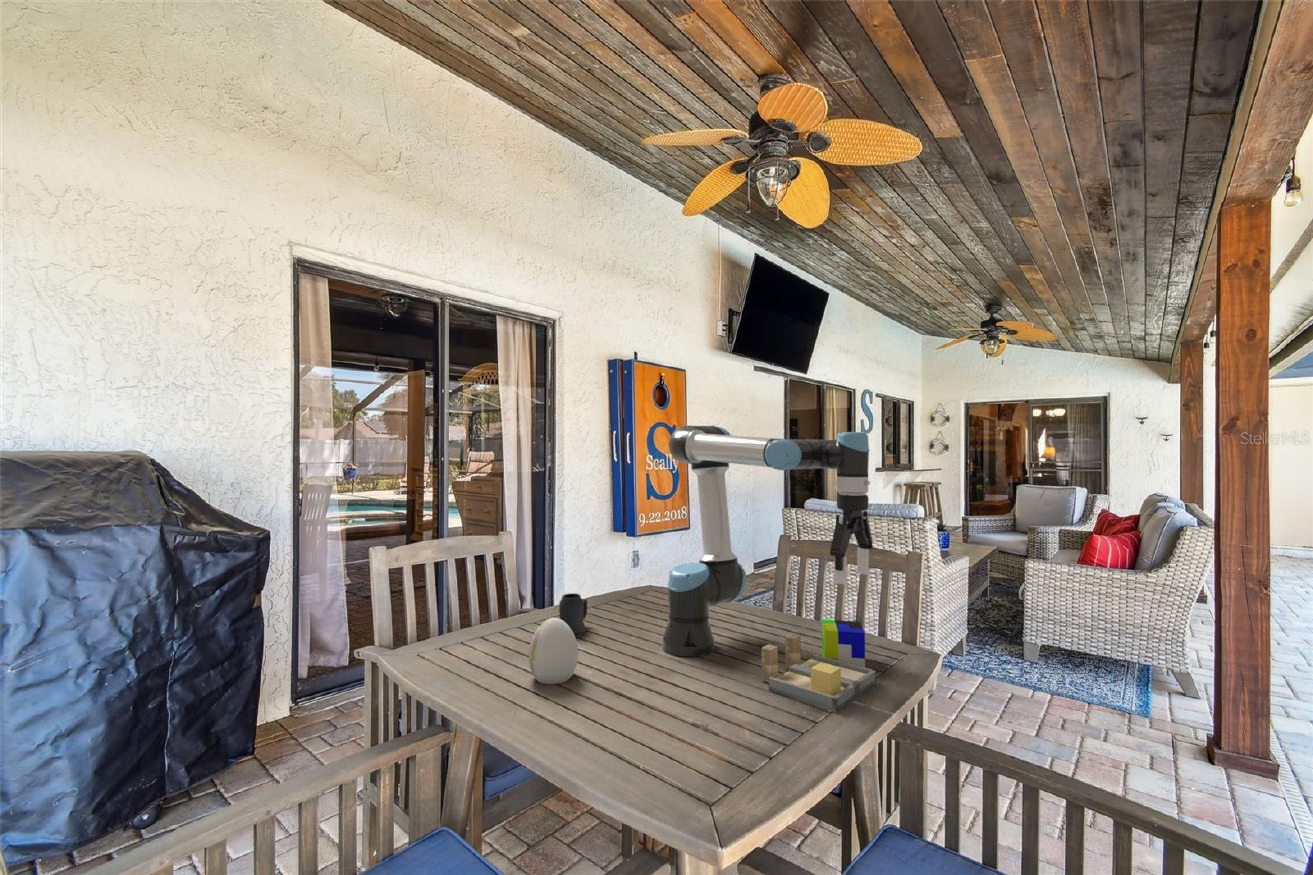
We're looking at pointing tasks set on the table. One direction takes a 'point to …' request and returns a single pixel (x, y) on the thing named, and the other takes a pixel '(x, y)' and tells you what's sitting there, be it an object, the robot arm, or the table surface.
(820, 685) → the cube
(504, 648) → the table surface
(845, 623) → the puzzle toy
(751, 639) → the table surface
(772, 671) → the strip
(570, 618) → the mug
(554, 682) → the decorative egg
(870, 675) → the board
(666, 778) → the table surface
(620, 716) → the table surface
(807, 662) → the strip
